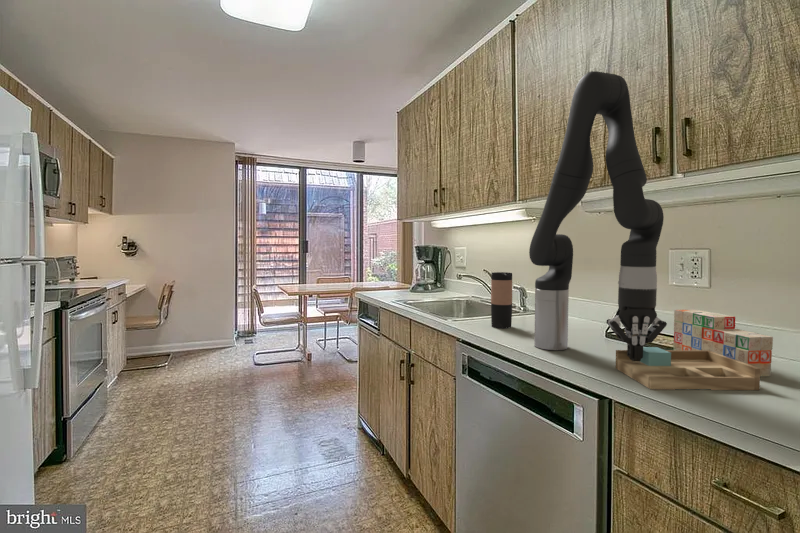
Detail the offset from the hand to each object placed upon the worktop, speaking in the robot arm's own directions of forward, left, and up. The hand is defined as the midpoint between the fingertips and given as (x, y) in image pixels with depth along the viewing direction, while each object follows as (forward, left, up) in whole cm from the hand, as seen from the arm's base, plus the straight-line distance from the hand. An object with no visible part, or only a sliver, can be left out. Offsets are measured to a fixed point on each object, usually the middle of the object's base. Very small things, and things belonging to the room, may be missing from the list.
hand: (634, 360), depth 90 cm
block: (-1, +5, -1) cm, 5 cm away
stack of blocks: (-9, +26, -4) cm, 27 cm away
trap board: (+3, +9, -3) cm, 10 cm away
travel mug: (-53, -19, -4) cm, 57 cm away
